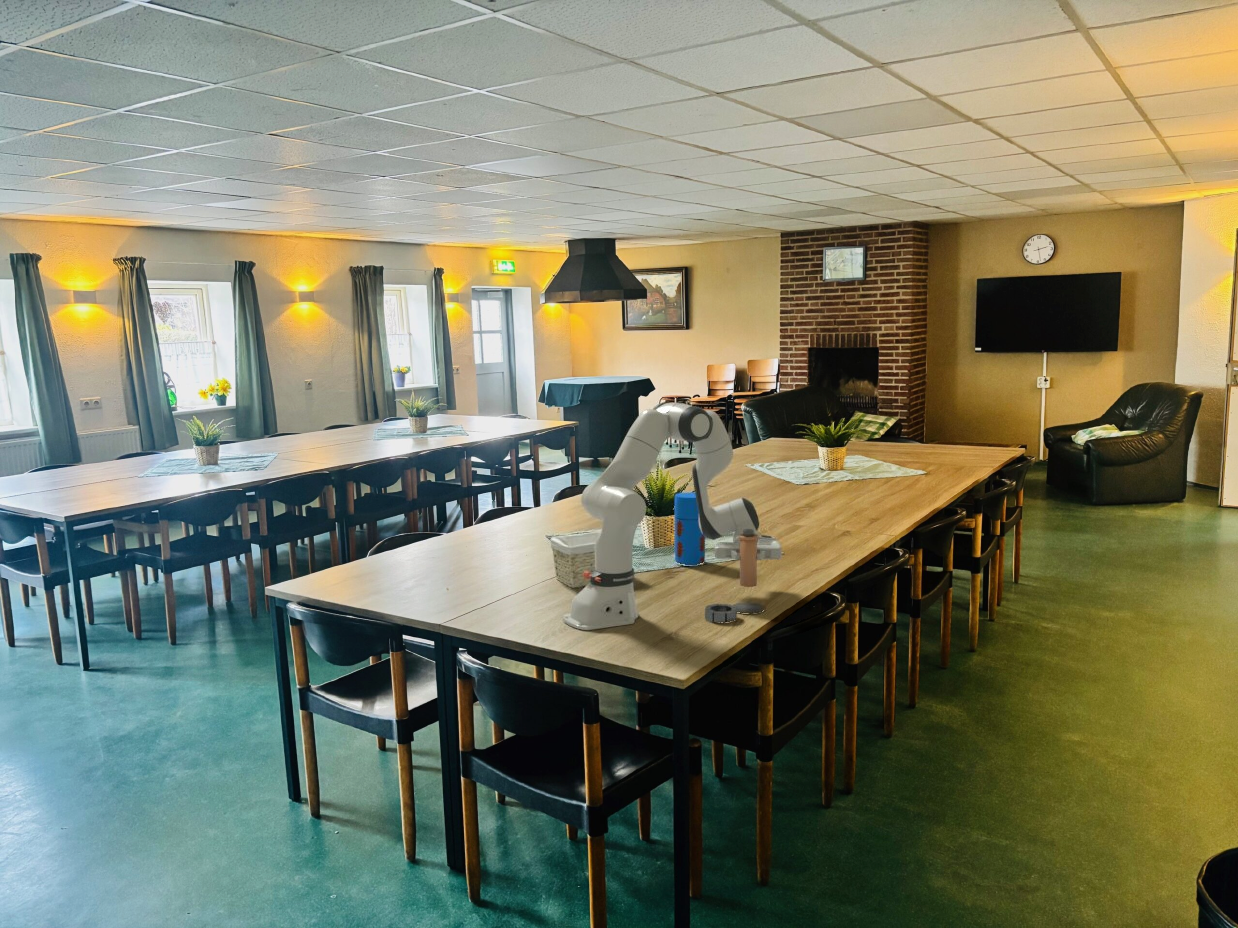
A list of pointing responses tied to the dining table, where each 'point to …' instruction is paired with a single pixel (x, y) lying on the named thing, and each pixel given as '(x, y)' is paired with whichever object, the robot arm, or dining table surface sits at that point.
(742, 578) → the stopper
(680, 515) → the thermos
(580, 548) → the storage basket
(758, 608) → the rest pad
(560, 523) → the dining table surface
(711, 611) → the collar
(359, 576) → the dining table surface
